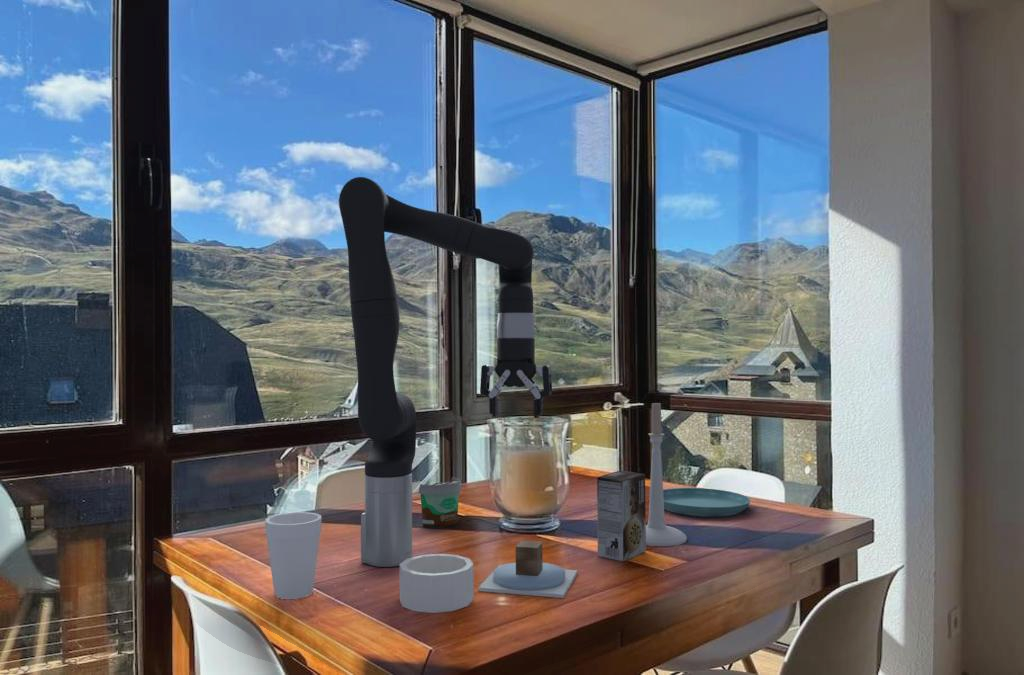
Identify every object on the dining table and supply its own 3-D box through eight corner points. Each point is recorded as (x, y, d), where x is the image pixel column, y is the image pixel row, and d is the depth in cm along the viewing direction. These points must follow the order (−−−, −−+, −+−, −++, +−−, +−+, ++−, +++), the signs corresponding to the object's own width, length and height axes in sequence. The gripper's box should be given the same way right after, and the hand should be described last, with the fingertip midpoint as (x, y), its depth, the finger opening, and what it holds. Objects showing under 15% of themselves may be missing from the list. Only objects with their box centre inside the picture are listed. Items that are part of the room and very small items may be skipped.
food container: (438, 531, 176) (437, 487, 176) (418, 527, 179) (418, 484, 179) (473, 521, 186) (472, 479, 186) (453, 517, 189) (453, 476, 189)
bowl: (388, 608, 126) (388, 572, 126) (416, 585, 137) (416, 552, 137) (459, 615, 123) (458, 577, 123) (481, 591, 134) (481, 556, 134)
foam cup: (327, 584, 138) (326, 512, 138) (315, 602, 129) (315, 524, 129) (273, 585, 138) (273, 512, 138) (258, 603, 129) (257, 525, 129)
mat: (478, 591, 134) (478, 587, 134) (499, 567, 148) (499, 564, 148) (563, 598, 131) (563, 594, 131) (577, 573, 144) (577, 570, 144)
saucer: (749, 523, 184) (749, 509, 184) (647, 516, 191) (647, 503, 191) (751, 502, 207) (751, 490, 207) (659, 496, 214) (659, 484, 214)
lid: (484, 587, 135) (484, 551, 135) (504, 565, 147) (503, 533, 147) (557, 593, 131) (557, 556, 131) (571, 570, 144) (571, 537, 144)
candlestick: (630, 546, 163) (630, 403, 163) (623, 531, 176) (623, 398, 176) (692, 546, 163) (691, 403, 163) (680, 531, 175) (680, 398, 175)
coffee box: (619, 546, 163) (619, 469, 163) (646, 551, 159) (646, 473, 159) (596, 556, 156) (595, 476, 156) (623, 562, 152) (623, 479, 152)
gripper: (476, 336, 153) (476, 418, 153) (546, 336, 149) (547, 420, 149) (486, 336, 160) (487, 414, 160) (554, 336, 156) (554, 416, 156)
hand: (516, 417), depth 154 cm, fingers open, 8 cm apart
